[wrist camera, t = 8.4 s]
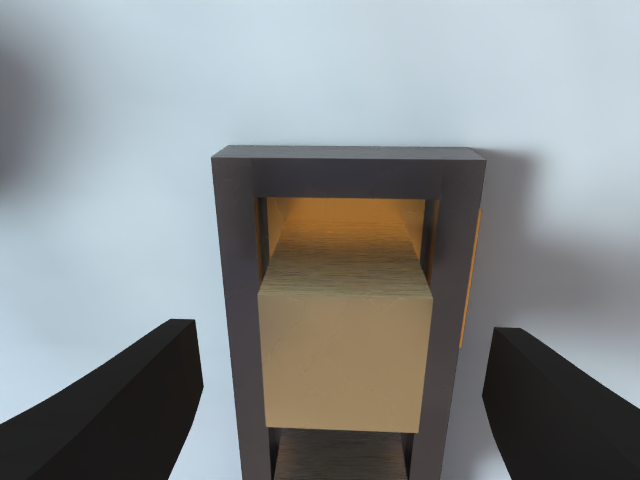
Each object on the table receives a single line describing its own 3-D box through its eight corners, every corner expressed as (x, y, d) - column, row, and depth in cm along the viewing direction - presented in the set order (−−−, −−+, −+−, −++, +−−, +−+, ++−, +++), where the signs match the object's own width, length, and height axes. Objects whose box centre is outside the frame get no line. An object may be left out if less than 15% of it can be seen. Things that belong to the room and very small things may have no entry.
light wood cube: (396, 325, 16) (418, 432, 11) (288, 322, 16) (265, 427, 11) (404, 223, 14) (433, 298, 10) (285, 221, 14) (257, 294, 10)
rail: (415, 570, 22) (422, 616, 21) (262, 561, 23) (254, 605, 21) (471, 147, 14) (490, 159, 12) (227, 145, 15) (210, 157, 13)
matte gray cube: (386, 455, 18) (400, 586, 14) (293, 451, 19) (276, 579, 14) (392, 380, 17) (410, 499, 12) (291, 377, 17) (271, 492, 12)
